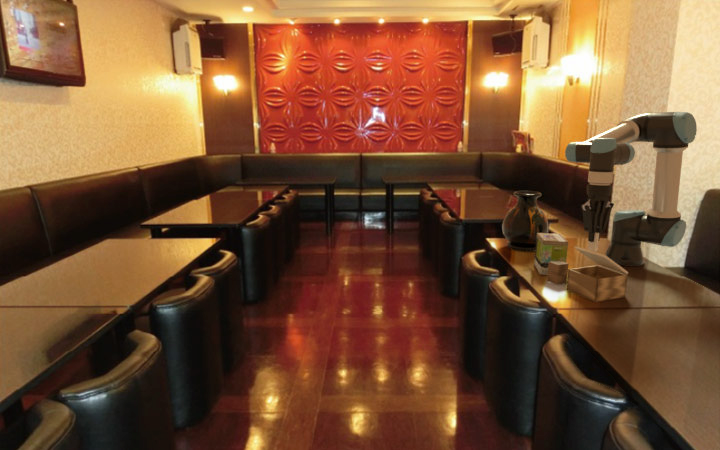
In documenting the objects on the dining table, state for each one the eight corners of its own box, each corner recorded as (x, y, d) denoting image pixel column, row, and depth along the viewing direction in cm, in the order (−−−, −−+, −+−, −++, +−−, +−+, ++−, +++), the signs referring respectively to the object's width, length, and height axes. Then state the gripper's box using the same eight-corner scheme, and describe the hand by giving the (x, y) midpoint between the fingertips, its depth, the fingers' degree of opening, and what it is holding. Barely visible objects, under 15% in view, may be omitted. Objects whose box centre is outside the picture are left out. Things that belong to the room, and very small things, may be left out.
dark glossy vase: (541, 256, 213) (546, 197, 207) (495, 249, 224) (498, 193, 218) (550, 246, 230) (555, 191, 224) (507, 240, 242) (511, 188, 236)
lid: (597, 264, 172) (598, 262, 172) (627, 274, 160) (628, 272, 160) (574, 247, 166) (575, 246, 166) (604, 257, 154) (605, 255, 154)
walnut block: (557, 279, 181) (558, 260, 179) (566, 283, 176) (568, 263, 174) (547, 281, 179) (548, 261, 177) (556, 285, 174) (558, 265, 173)
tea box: (565, 276, 184) (569, 241, 181) (539, 275, 186) (542, 240, 183) (557, 265, 198) (560, 232, 195) (533, 264, 200) (535, 231, 197)
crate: (595, 285, 174) (597, 265, 172) (625, 296, 162) (627, 275, 160) (566, 289, 169) (568, 269, 167) (595, 302, 157) (597, 280, 155)
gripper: (604, 181, 161) (597, 246, 166) (576, 183, 157) (570, 249, 162) (623, 184, 155) (615, 251, 159) (594, 186, 150) (587, 254, 155)
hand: (592, 250), depth 161 cm, fingers closed
